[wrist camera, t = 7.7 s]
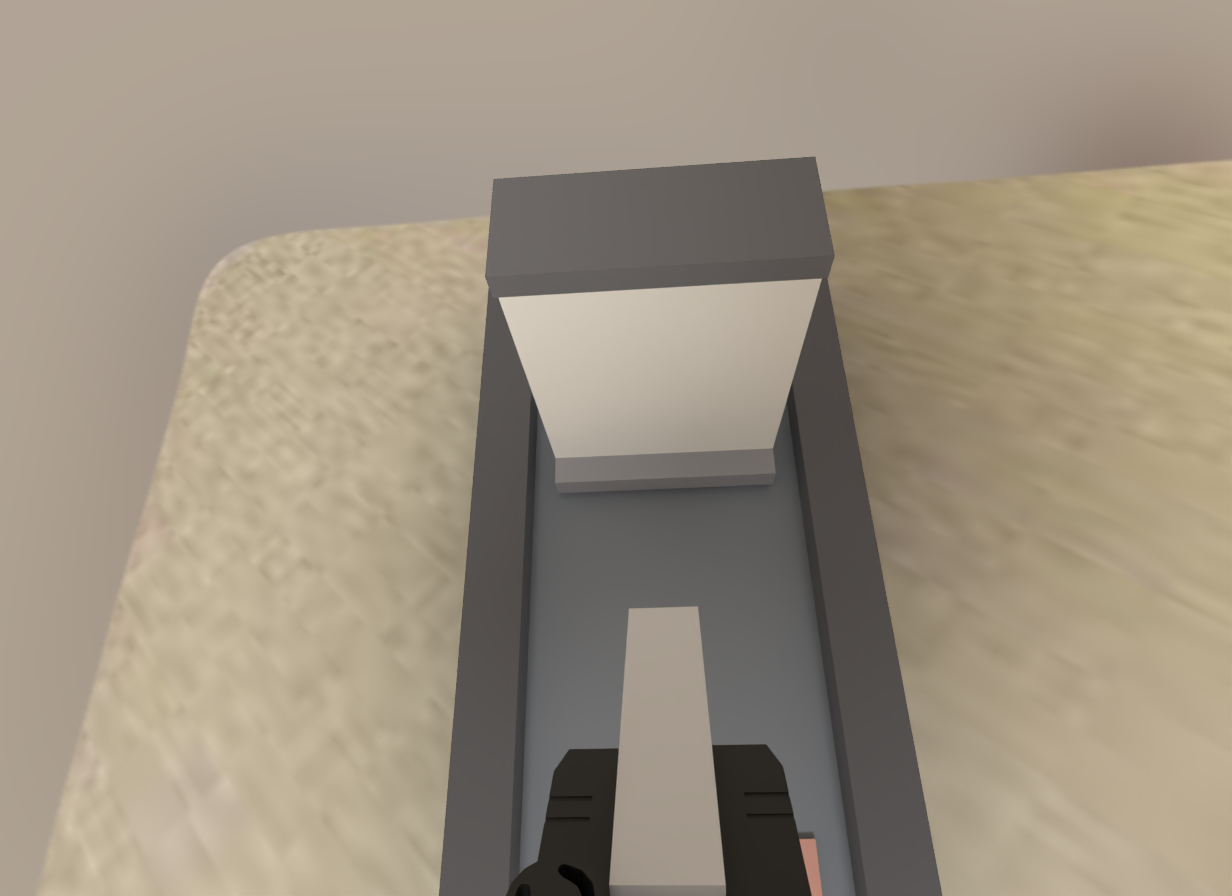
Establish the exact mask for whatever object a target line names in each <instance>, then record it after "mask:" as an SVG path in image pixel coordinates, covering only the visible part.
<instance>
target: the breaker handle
mask: <svg viewBox="0 0 1232 896" xmlns="http://www.w3.org/2000/svg"><path fill="white" fill-rule="evenodd" d="M833 259H834V250H833V245H832V240H831V235H830V230H829V225H828V220H827V215H826V209H825V204H824V199H823V194H822V189H821V184H820V179H819V174H818V169H817V164H816V159H815V157H804V158H789V159H776V160H760V161H747V162H732V163H717V164H704V165H689V166H674V167H660V168H646V169H632V170H618V171H604V172H590V173H589V172H588V173H574V174H561V175H546V176H533V177H532V176H531V177H517V178H503V179H494V181H493V192H492V204H491V215H490V227H489V239H488V251H487V262H486V274H485V278H486V280H487V283H488V286H489V288H490V291H491V294H492V297H493V298H499V301H500V304H501V307H502V309H503V312H504V315H505V318H506V321H507V323H508V326H509V329H510V332H511V335H512V337H513V340H514V343H515V346H516V349H517V351H518V354H519V357H520V360H521V363H522V365H523V368H524V371H525V374H526V377H527V380H528V382H529V385H530V388H531V391H532V394H533V396H534V399H535V402H536V405H537V408H538V410H539V413H540V416H541V419H542V422H543V424H544V427H545V430H546V433H547V436H548V438H549V441H550V444H551V447H552V450H553V452H554V455H555V458H556V460H555V484H556V487H557V490H558V492H559V493H579V492H603V491H627V490H650V489H674V488H698V487H721V486H745V485H769V484H773V481H774V478H775V475H776V470H775V462H774V454H773V446H774V443H775V439H776V436H777V432H778V429H779V425H780V422H781V418H782V415H783V411H784V408H785V404H786V401H787V398H788V394H789V391H790V387H791V384H792V380H793V377H794V373H795V370H796V366H797V363H798V360H799V356H800V353H801V349H802V346H803V342H804V339H805V335H806V332H807V328H808V325H809V321H810V318H811V315H812V311H813V308H814V304H815V301H816V297H817V294H818V290H819V287H820V283H821V280H822V278H828V275H829V272H830V269H831V265H832V262H833Z"/></svg>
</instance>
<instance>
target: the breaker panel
mask: <svg viewBox="0 0 1232 896" xmlns="http://www.w3.org/2000/svg"><path fill="white" fill-rule="evenodd" d="M773 454H774V462H775V470H776V475H775V478H774V481H773V484H769V485H745V486H721V487H698V488H674V489H650V490H627V491H603V492H579V493H559V492H558V490H557V487H556V484H555V460H556V458H555V455H554V452H553V450H552V447H551V444H550V441H549V438H548V436H547V433H546V430H545V427H544V424H543V422H542V419H541V416H540V413H539V410H538V408H537V405H536V402H535V399H534V396H533V394H532V391H531V388H530V385H529V382H528V380H527V377H526V374H525V371H524V368H523V365H522V363H521V360H520V357H519V354H518V351H517V349H516V346H515V343H514V340H513V337H512V335H511V332H510V329H509V326H508V323H507V321H506V318H505V315H504V312H503V309H502V307H501V304H500V301H499V298H493V297H492V294H491V291H490V288H489V292H488V304H487V317H486V329H485V341H484V353H483V365H482V378H481V390H480V402H479V414H478V426H477V439H476V451H475V463H474V475H473V487H472V500H471V512H470V524H469V536H468V548H467V561H466V573H465V585H464V597H463V609H462V622H461V634H460V646H459V658H458V670H457V683H456V695H455V707H454V719H453V731H452V744H451V756H450V768H449V780H448V792H447V805H446V817H445V829H444V841H443V853H442V866H441V878H440V890H439V896H506V894H507V892H508V890H509V887H510V885H511V883H512V882H513V880H514V879H515V878H516V877H517V876H518V875H519V874H520V873H521V872H522V871H523V870H524V869H525V868H526V867H528V866H530V865H532V864H534V863H535V862H537V860H538V855H539V849H540V844H541V838H542V833H543V827H544V823H545V817H546V811H547V806H548V801H549V795H550V789H551V784H552V778H553V773H554V770H555V769H556V767H557V766H558V764H559V763H560V762H561V760H562V759H563V757H564V756H565V754H566V753H567V751H568V750H569V749H608V748H619V741H620V727H621V713H622V699H623V685H624V671H625V657H626V643H627V629H628V615H629V609H630V608H663V607H695V606H698V611H699V622H700V632H701V642H702V652H703V662H704V672H705V682H706V692H707V702H708V712H709V722H710V732H711V742H712V745H747V744H766V745H767V746H768V747H769V748H770V750H771V751H772V752H773V754H774V755H775V756H776V758H777V759H778V760H779V762H780V763H781V764H782V765H783V768H784V773H785V777H786V782H787V786H788V791H789V797H790V800H791V804H792V809H793V813H794V819H795V822H796V827H797V831H798V836H799V840H800V845H801V849H802V854H803V858H804V863H805V867H806V872H807V876H808V881H809V885H810V889H811V894H812V896H942V892H941V886H940V881H939V876H938V870H937V865H936V859H935V854H934V849H933V843H932V838H931V833H930V827H929V822H928V817H927V811H926V806H925V800H924V795H923V790H922V784H921V779H920V774H919V768H918V763H917V758H916V752H915V747H914V741H913V736H912V731H911V725H910V720H909V715H908V709H907V704H906V699H905V693H904V688H903V682H902V677H901V672H900V666H899V661H898V656H897V650H896V645H895V640H894V634H893V629H892V623H891V618H890V613H889V607H888V602H887V597H886V591H885V586H884V581H883V575H882V570H881V564H880V559H879V554H878V548H877V543H876V538H875V532H874V527H873V522H872V516H871V511H870V505H869V500H868V495H867V489H866V484H865V479H864V473H863V468H862V463H861V457H860V452H859V446H858V441H857V436H856V430H855V425H854V420H853V414H852V409H851V404H850V398H849V393H848V388H847V382H846V377H845V371H844V366H843V361H842V355H841V350H840V345H839V339H838V334H837V329H836V323H835V318H834V312H833V307H832V302H831V296H830V291H829V286H828V280H827V278H822V280H821V283H820V287H819V290H818V294H817V297H816V301H815V304H814V308H813V311H812V315H811V318H810V321H809V325H808V328H807V332H806V335H805V339H804V342H803V346H802V349H801V353H800V356H799V360H798V363H797V366H796V370H795V373H794V377H793V380H792V384H791V387H790V391H789V394H788V398H787V401H786V404H785V408H784V411H783V415H782V418H781V422H780V425H779V429H778V432H777V436H776V439H775V443H774V446H773Z"/></svg>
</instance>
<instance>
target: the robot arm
mask: <svg viewBox="0 0 1232 896" xmlns="http://www.w3.org/2000/svg"><path fill="white" fill-rule="evenodd" d="M506 896H812V894H811V889H810V885H809V881H808V876H807V872H806V867H805V863H804V858H803V854H802V849H801V845H800V840H799V836H798V831H797V827H796V822H795V819H794V813H793V809H792V804H791V800H790V797H789V791H788V786H787V782H786V777H785V773H784V768H783V765H782V764H781V763H780V762H779V760H778V759H777V758H776V756H775V755H774V754H773V752H772V751H771V750H770V748H769V747H768V746H767V745H766V744H747V745H712V742H711V732H710V722H709V712H708V702H707V692H706V682H705V672H704V662H703V652H702V642H701V632H700V622H699V611H698V606H695V607H663V608H630V609H629V615H628V629H627V643H626V657H625V671H624V685H623V699H622V713H621V727H620V741H619V748H608V749H569V750H568V751H567V753H566V754H565V756H564V757H563V759H562V760H561V762H560V763H559V764H558V766H557V767H556V769H555V770H554V773H553V778H552V784H551V789H550V795H549V801H548V806H547V811H546V817H545V823H544V827H543V833H542V838H541V844H540V849H539V855H538V860H537V862H535V863H534V864H532V865H530V866H528V867H526V868H525V869H524V870H523V871H522V872H521V873H520V874H519V875H518V876H517V877H516V878H515V879H514V880H513V882H512V883H511V885H510V887H509V890H508V892H507V894H506Z"/></svg>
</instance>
